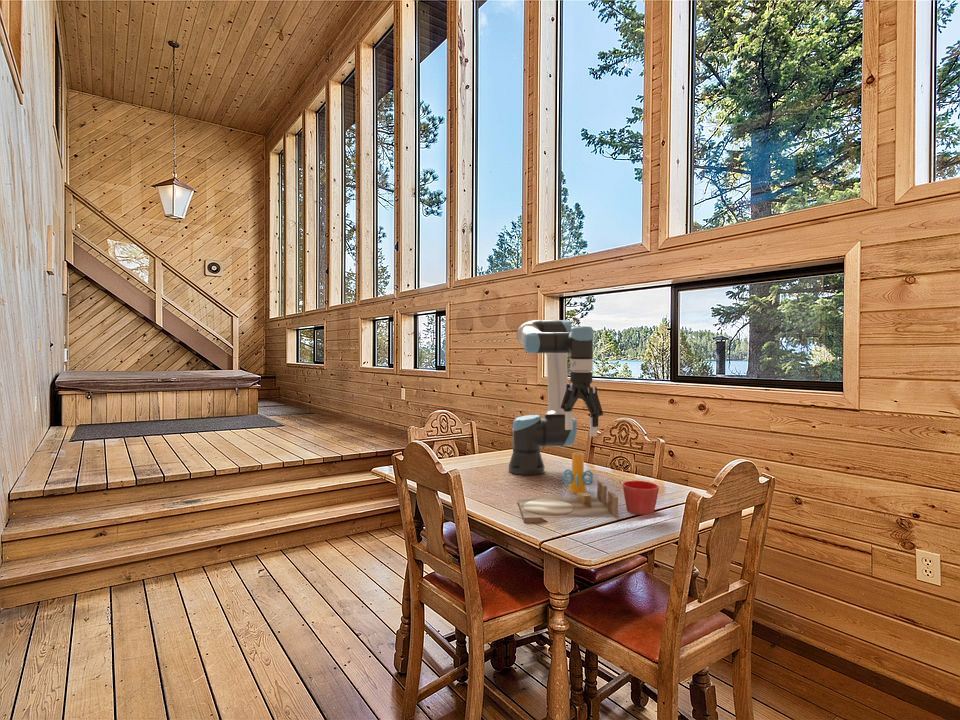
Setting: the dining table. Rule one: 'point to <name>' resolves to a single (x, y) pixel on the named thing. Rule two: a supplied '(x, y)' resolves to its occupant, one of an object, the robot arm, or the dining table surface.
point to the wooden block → (584, 498)
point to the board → (569, 506)
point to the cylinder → (577, 474)
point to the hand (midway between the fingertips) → (580, 432)
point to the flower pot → (640, 496)
